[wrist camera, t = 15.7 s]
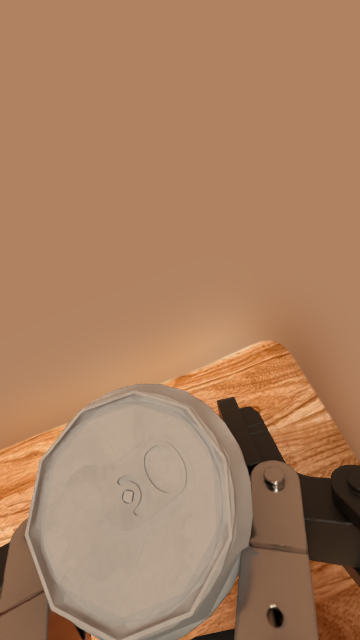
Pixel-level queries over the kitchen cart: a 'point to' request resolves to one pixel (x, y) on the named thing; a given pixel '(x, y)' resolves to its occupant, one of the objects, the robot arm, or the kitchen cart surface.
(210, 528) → the beer can
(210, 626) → the kitchen cart surface
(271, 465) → the robot arm
